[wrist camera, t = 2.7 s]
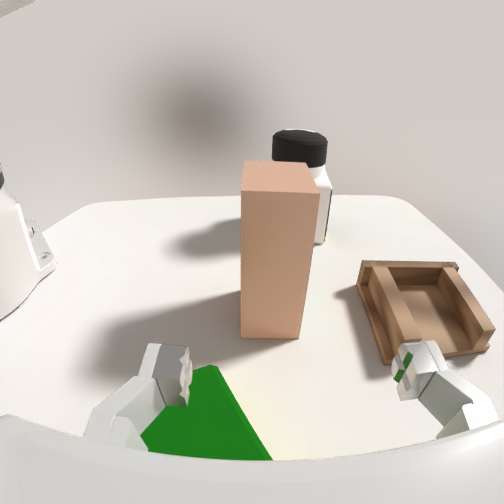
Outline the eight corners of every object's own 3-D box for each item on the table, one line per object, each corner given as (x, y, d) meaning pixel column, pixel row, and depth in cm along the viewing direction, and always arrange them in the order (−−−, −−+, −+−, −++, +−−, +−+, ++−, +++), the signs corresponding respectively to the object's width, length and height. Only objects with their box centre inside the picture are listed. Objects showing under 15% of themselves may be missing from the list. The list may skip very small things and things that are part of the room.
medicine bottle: (324, 245, 36) (338, 142, 30) (262, 241, 37) (266, 136, 30) (318, 217, 42) (328, 128, 36) (265, 213, 43) (268, 124, 36)
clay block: (298, 338, 25) (320, 193, 18) (240, 337, 25) (241, 190, 18) (292, 290, 30) (305, 162, 23) (243, 289, 30) (244, 160, 23)
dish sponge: (202, 598, 8) (196, 602, 7) (122, 411, 19) (111, 392, 17) (323, 549, 11) (334, 545, 10) (217, 382, 21) (215, 361, 20)
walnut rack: (487, 350, 22) (501, 328, 20) (384, 364, 22) (396, 340, 20) (446, 283, 30) (454, 262, 29) (356, 284, 30) (362, 260, 29)
